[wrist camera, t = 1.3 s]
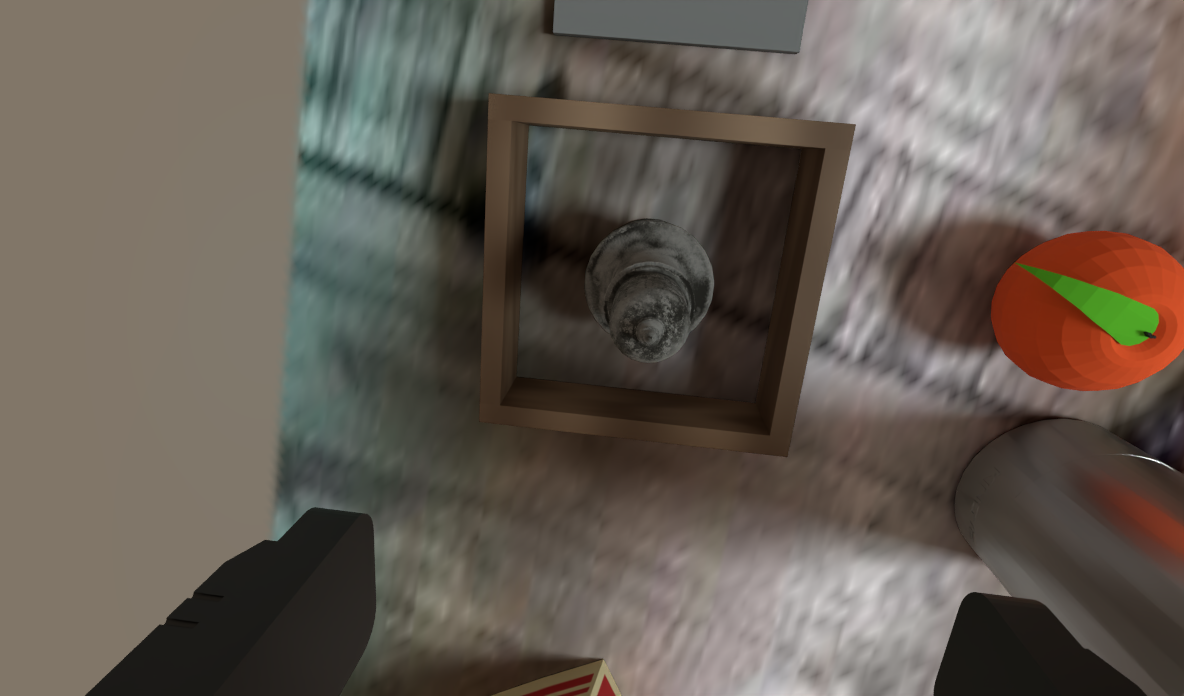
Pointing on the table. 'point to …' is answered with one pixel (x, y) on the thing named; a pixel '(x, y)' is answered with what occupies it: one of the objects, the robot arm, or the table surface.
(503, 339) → the walnut crate
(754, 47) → the mat
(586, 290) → the stone chess piece
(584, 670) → the milk carton
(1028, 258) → the clementine
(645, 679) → the table surface
